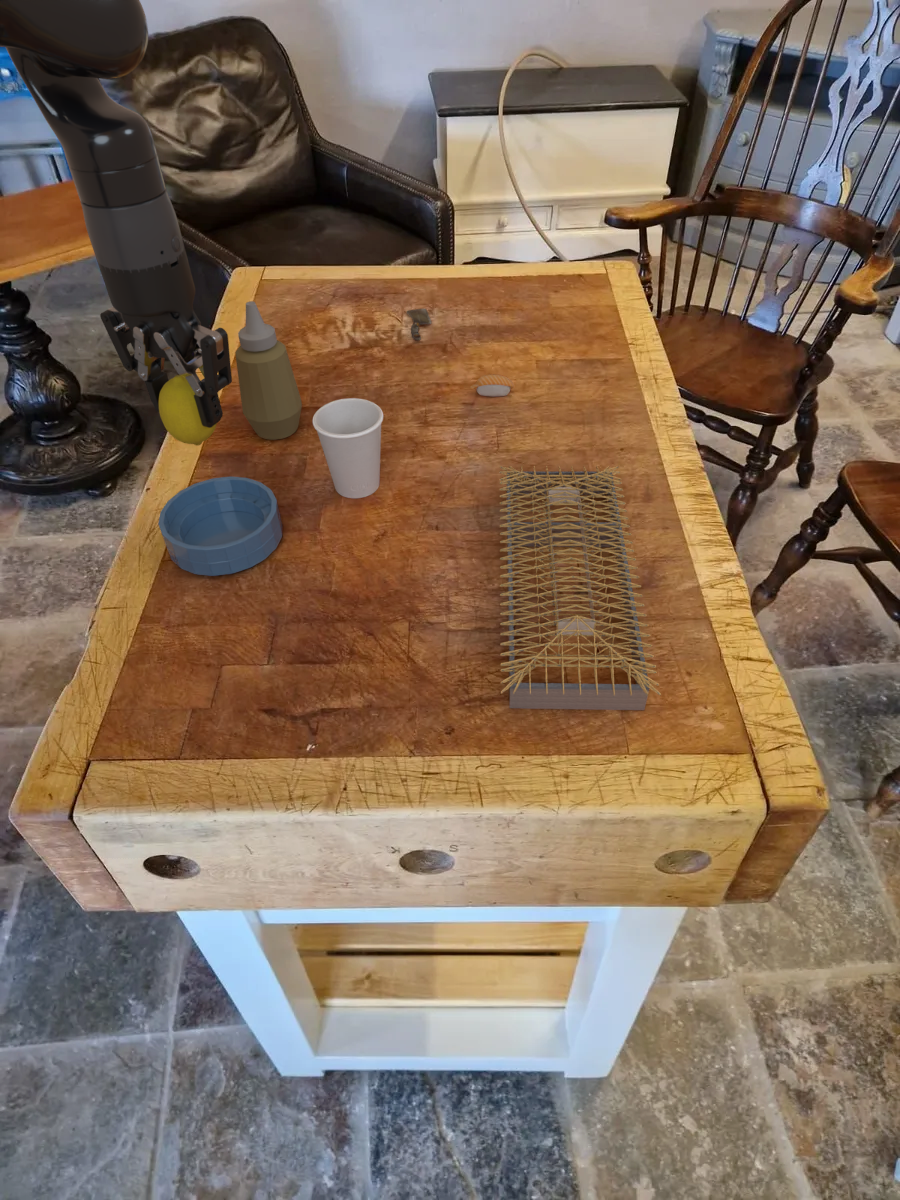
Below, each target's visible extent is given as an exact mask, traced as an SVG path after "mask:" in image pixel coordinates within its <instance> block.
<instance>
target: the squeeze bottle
mask: <svg viewBox="0 0 900 1200" xmlns="http://www.w3.org/2000/svg"><path fill="white" fill-rule="evenodd" d="M237 336H238V342H239V346H238V348H237V349H236V350H235V353H234V354H235V361H236V370H237V378H238V385H239V386H238V387H239V393H240V401H241V409H242V410H241V411H242V414H243V415H244V417H245V419H246V420H247V422H248V423H249V425H250V427H251V428H252V429H253V431H254V432H255V434H256V435H257V436H258V437H259V438H262V439H264V440H270V441H271V440H272V441H276V440H283V439H286V438H287V437H290V436H292V435H294V433H295V432H297V430H298V428H299V424H300V419H301V413H302V407H303V402H302V397H301V394H300V391H299V387H298V384H297V381H296V378H295V374H294V370H293V368H292V364H291V360H290V358H289V354H288V351H287V350H288V349H287V347H286V344H284V343H283V342H282V341H280V340H278V339H277V334H276V328H275V327H274V326H273V325H271V324H268V323H265V321H264V319H263V316H262V315H261V313H260V310H259V308H258V305H257V303H256V302H255V301H252V300H251V301H246V303H245V326H244V327H242V328H240V330H238V333H237Z"/></svg>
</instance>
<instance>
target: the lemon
mask: <svg viewBox="0 0 900 1200" xmlns="http://www.w3.org/2000/svg"><path fill="white" fill-rule="evenodd" d="M168 380H169V381H168V382H166V383H165V384H164V386H163V387H162V389H161V391H160V394H159V412H158V413H159V417H160V419H161V422H162V424H163V426H164V428H165V430H166V432H168V434H169V435H170V436H171V437H173V438H174V439H175V440H176V441H178V442H181V443H183V444H188V445H194V446H200V445H201V444H202V443H204V442H205V441H207V440H208V439H209V438H210V437H212V435H213V433H214V432H215V430H216V428H217V424H218V423H216V424H215V425H214V426H212V427H211V428H208V427H205V426H203V425H202V422H201V419H200V416H199V412H198V409H197V405H196V402H195V398H194V395H195V393H194V391H193V390H192V388H191V386H190V384H189V383H188V381H187V379H186V378H185V377H184V376H180V375H179V374H176V375H174V377H172V378H170V379H168Z"/></svg>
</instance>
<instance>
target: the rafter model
mask: <svg viewBox="0 0 900 1200" xmlns="http://www.w3.org/2000/svg"><path fill="white" fill-rule="evenodd" d="M499 468H500V469H501V470H500V471H499V474H501V475H505V476H504V477H501V478H499V485H506V486H503V487H500V488H499V491H505V492H506V493H503V494H500V495H499V498H506V500H503V501H500V502H499V505H506V507H504V508H501V509H499V512H500V513H501V512H502V513H506V515H504V516H500V517H499V520H506V522H505V523H503V524H499V528H506V531H502V532H499V535H500V536H506V539H502V540H499V543H500V544H506V547H504V548H500V549H499V552H506V556H502V557H500V558H499V561H506V562H507V563H506V564H504V565H501V566H499V569H502V570H506V569H507V573H505V574H500V575H499V578H507V582H503V583H500V584H499V588H500V587H501V588H503V587H505V588H506V587H507V591H506V592H502V593H500V594H499V596H500V597H507V601H504V602H500V604H499V606H507V610H506V611H503V612H500V613H499V614H500V616H507V621H503V622H500V623H499V625H500V626H507V627H508V630H507V631H504V632H500V633H499V636H508V637H507V638H508V641H504V642H500V646H508V651H505V652H501V653H500V656H502V657H503V656H505V657H507V656H508V661H506V662H501V663H500V667H505V668H501V669H500V672H508V676H507V678H505V679H503V680H502V681H500V684H501V685H502V684H505V683H508V684H507V685H506V686H505V687H504V688H503V689H502V690H501V691H500V695H502V694H503V693H504V692H506V691H507V690H508V693H509V694H508V695H509V696H508V697H509V700H508V701H509V709H532V710H535V709H536V710H537V709H538V710H541V709H542V710H597V711H600V710H601V711H602V710H603V711H605V710H607V711H608V710H609V711H617V710H618V711H645V710H646V705H647V701H648V698H649V693H650V690H651V691H652V692H654V693H655V694H657V695H658V696H660V697H661V696H662V693H661V692H660V691H659V690H658V689H657V688H656V687H655V686H658V687H659V686H660V683H659V682H658V681H656V680H654V679H652V678H650V677H649V676H648V674H658V671H657V670H655V669H656V668H657V664H654V663H649V662H646V659H645V658H655V655H654V654H651V653H647V652H644V648H652V647H653V644H651V643H646V642H643V641H642V638H651V634H649V633H646V632H642V631H641V630H640V627H649V624H648V623H644V622H641V621H639V618H638V617H647V614H646V613H643V612H640V611H637V607H644V608H645V607H646V606H645V605H646V604H645V603H641V602H638V601H635V598H643V597H644V594H642V593H638V592H634V590H633V588H640V589H641V588H642V585H641V584H637V583H634V582H632V579H640V576H639V575H636V574H632V573H630V570H638V569H639V567H638V566H634V565H631V564H629V561H631V562H635V561H637V558H636V557H632V556H628V555H627V553H635V549H632V548H629V547H626V545H627V544H628V545H633V544H634V541H631V540H629V539H625V538H624V536H629V537H630V536H632V535H633V534H632V533H631V532H628V531H624V530H623V528H631V525H629V524H626V523H624V522H622V521H623V520H625V521H629V517H627V516H625V515H622V514H621V515H620V513H628V509H625V508H622V507H619V505H626V504H627V502H625V501H623V500H618V498H625V494H621V493H618V492H619V491H622V492H623V491H624V488H623V487H619V486H616V485H622V484H623V481H622V477H621V478H620V477H617V476H615V475H618V474H621V471H620V470H618V469H619V468H620V465H617V466H614V467H610V465H607V467H605V469H603V470H601V471H600V469H599V467H598V465H596V466H595V468H596V471H592V470H591V471H589V470H588V471H587V469H586V467H585V465H583V470H582V471H581V470H580V471H579V470H578V471H574V468H573V465H570V470H571V471H569V470H568V471H567V470H566V471H562V470H561V467H560V465H558V471H555V470H554V471H549V469H548V465H546V466H545V470H546V471H544V470H543V471H539V470H538V471H536V467H535V466H533V471H530V470H529V471H528V470H527V471H523V465H520V470H518V469H516V468H515V467H513V466H512V465H508V467H506V466H502V465H499ZM616 491H617V492H616ZM522 498H531V500H530V501H529V500H525V499H524V500H523V499H522ZM534 498H536V499H534ZM591 498H592V499H591ZM595 498H604V499H603V500H595ZM545 499H546V500H545ZM515 501H518V502H515ZM538 501H541V502H538ZM584 501H590V502H584ZM511 505H512V506H511ZM524 505H532V508H527V507H522V506H524ZM534 505H537V506H534ZM591 505H593V506H591ZM596 505H603V506H605V507H601V508H597V507H596ZM551 506H563V507H561V508H557V509H551ZM568 506H569V507H568ZM570 506H577V509H576V508H572V507H570ZM516 508H517V509H516ZM541 508H542V509H541ZM586 508H589V509H586ZM591 509H592V510H591ZM523 513H532V515H531V516H529V515H524V514H523ZM535 513H538V514H535ZM592 513H594V514H592ZM597 513H606V514H605V515H600V516H599V515H597ZM551 514H564V515H561V516H557V517H552V516H551ZM569 514H570V515H569ZM571 514H578V517H577V516H574V515H571ZM546 515H547V516H546ZM516 516H519V517H516ZM540 516H543V517H540ZM586 516H590V517H586ZM512 520H513V521H512ZM526 520H532V521H526ZM535 520H537V521H535ZM594 520H595V522H594ZM598 520H600V522H599V521H598ZM601 520H602V521H601ZM621 520H622V521H621ZM605 521H606V522H605ZM555 547H556V548H558V547H559V548H566V549H554V548H555ZM516 548H519V549H516ZM575 548H582V549H575ZM591 548H592V549H591ZM513 552H516V553H513ZM530 552H532V553H533V552H534V557H533V556H528V555H523V554H526V553H530ZM545 552H546V553H547V552H550V553H547V554H545ZM537 553H539V554H541V555H539V556H537ZM598 553H600V555H596V554H598ZM602 553H609V554H613V555H610V556H606V557H605V556H604V557H603V556H602ZM556 555H575V556H576V555H579V556H580V555H581V556H582V555H583V558H576V557H572V556H570V557H566V558H565V557H564V558H563V557H562V558H560V557H559V558H558V557H557V558H555V556H556ZM591 557H594V558H591ZM513 561H516V562H513ZM529 561H535V565H530V564H524V563H525V562H529ZM538 561H539V562H540V563H542V564H539V565H537V564H538ZM544 561H551V562H544ZM590 561H594V562H590ZM600 561H601V563H600V564H597V563H598V562H600ZM604 561H607V562H612V563H614V564H610V565H605V566H604ZM556 564H584V566H574V565H573V566H572V565H571V566H566V567H565V566H555V565H556ZM517 565H519V566H517ZM516 569H517V570H516ZM513 570H515V571H513ZM530 570H535V574H530V573H525V572H526V571H530ZM538 570H540V571H541V572H543V573H540V574H538ZM545 570H551V571H545ZM591 570H596V571H591ZM601 570H602V573H598V572H599V571H601ZM605 570H609V571H613V572H617V573H612V574H607V575H605ZM557 573H577V574H579V573H581V574H582V573H583V574H584V573H585V575H556V574H557ZM517 574H520V575H517ZM515 578H516V580H513V579H515ZM517 578H520V579H517ZM535 578H536V583H531V582H525V581H527V580H530V579H535ZM539 579H540V580H541V581H543V582H542V583H538V582H539ZM546 579H552V580H550V581H547V580H546ZM591 579H597V580H595V581H594V580H591ZM606 579H609V580H613V581H617V582H613V583H608V584H606ZM601 580H603V583H602V582H599V581H601ZM517 583H519V584H517ZM520 583H521V584H520ZM557 583H586V585H585V584H582V585H581V584H557ZM515 587H516V588H518V587H519V588H518V589H514V588H515ZM532 588H536V593H535V592H531V591H530V592H529V591H524V590H528V589H532ZM546 588H553V589H552V590H548V589H546ZM572 588H577V589H572ZM592 588H598V589H597V590H593V589H592ZM608 588H610V589H614V590H617V591H618V592H612V593H611V592H610V593H607V591H608ZM539 589H542V590H543V591H544V592H541V593H539ZM603 589H605V590H604V592H601V590H603ZM559 592H587V594H566V593H565V594H564V593H563V594H562V593H561V594H559ZM514 597H520V598H516V599H514ZM534 597H537V601H536V602H532V601H526V599H527V600H528V599H531V598H534ZM546 597H553V599H552V600H549V599H547V598H546ZM558 597H560V598H558ZM593 597H596V598H598V597H599V598H598V599H597V600H596V599H593ZM609 597H610V598H614V599H617V600H621V601H617V602H611V603H609ZM540 598H541V599H544V600H545V601H544V602H540ZM571 598H578V599H571ZM604 599H606V602H603V601H602V600H604ZM517 602H518V603H517ZM519 602H521V603H519ZM558 602H588V603H558ZM596 603H597V604H596ZM514 606H523V607H519V608H515V609H514ZM534 607H537V612H534V611H529V610H526V609H530V608H534ZM540 607H541V608H542V609H544V610H545V612H541V613H540ZM547 607H554V609H553V610H550V609H548V608H547ZM559 607H561V608H559ZM594 607H602V608H600V609H597V610H596V609H594ZM572 608H580V609H572ZM606 608H608V609H607V612H604V611H603V610H604V609H606ZM610 608H615V609H619V610H622V611H617V612H611V613H610ZM519 612H520V613H519ZM521 612H523V613H521ZM559 612H589V613H559ZM514 616H524V617H520V618H515V619H514ZM545 616H548V617H550V616H552V617H553V616H555V618H554V619H555V620H551V619H549V618H547V617H545ZM559 616H560V617H561V616H562V617H563V618H559ZM565 616H566V617H565ZM535 617H538V619H537V620H538V621H537V622H534V621H529V620H526V619H531V618H535ZM589 617H590V618H589ZM595 617H603V618H602V619H600V620H597V619H596V618H595ZM612 617H613V618H616V619H621V620H624V621H619V622H618V621H617V622H614V623H613V622H612V623H611V621H612ZM541 618H543V619H545V620H546V621H547V622H543V623H540V619H541ZM608 618H609V620H608V622H604V620H606V619H608ZM518 622H519V623H518ZM521 622H522V623H521ZM523 622H524V623H523ZM515 626H525V627H521V628H516V629H515V628H514V627H515ZM546 626H550V627H551V626H553V627H554V626H555V627H556V629H555V630H551V629H549V628H547V627H546ZM536 627H538V632H534V631H528V629H532V628H536ZM596 627H605V628H603V629H601V630H598V629H596ZM541 628H543V629H545V630H546V631H547V632H542V633H541ZM614 628H617V629H620V630H624V631H622V632H615V633H613V629H614ZM608 629H610V632H609V633H608V632H605V631H606V630H608ZM519 632H521V633H519ZM515 636H517V637H519V636H524V637H522V638H518V639H515ZM536 637H539V643H538V642H533V641H527V640H529V639H532V638H533V639H534V638H536ZM548 637H554V638H553V639H552V640H551V639H550V638H548ZM560 637H561V638H560ZM563 637H565V639H563ZM572 637H577V643H564V642H566V641H567V640H569V639H570V638H572ZM579 637H583V639H585V640H586V641H587V642H588V643H580V638H579ZM587 637H593V642H592V641H591V640H590V639H588V638H587ZM603 637H607V638H604V639H603ZM627 637H628V638H627ZM542 638H544V639H545V640H547V641H549V642H545V643H542ZM596 638H598V639H599V640H601V641H599V642H598V641H597V642H596ZM611 638H612V639H611ZM615 638H618V639H622V640H625V642H619V643H614V641H615ZM556 639H557V642H555V641H556ZM560 639H561V641H560ZM609 639H610V640H611V643H609V642H607V640H609ZM519 642H521V643H519ZM515 646H516V647H517V646H518V647H519V646H527V647H523V648H519V649H515ZM540 647H544V648H543V649H542V650H541V651H540V652H537V651H531V650H530V649H534V648H540ZM551 647H558V651H557V652H556V651H555V650H554V649H553V648H551ZM564 647H570V648H568V649H567V650H566V649H565V650H564ZM585 647H594V653H593V652H592V651H590V650H588V649H587V648H585ZM598 647H604V648H603V649H602V650H600V651H599V652H597V651H598ZM614 647H615V648H618V649H622V650H626V651H624V652H617V651H616V650H615V649H614ZM547 648H548V649H549V650H550V651H551V652H553V653H554V654H553V653H552V654H549V653H548V654H547ZM575 648H577V653H578V654H565V653H567V652H569V651H571V650H574V649H575ZM580 648H581V649H582V650H584V651H585V652H587V653H588V654H580ZM608 649H609V650H608ZM560 650H561V651H560ZM606 650H608V654H601V653H603V652H604V651H606ZM520 652H525V653H520ZM625 654H626V655H625ZM628 654H629V655H628ZM515 657H523V658H518V659H515ZM529 660H531V661H530V662H529ZM541 660H544V662H542V661H541ZM555 660H558V662H557V661H555ZM564 660H567V661H565V662H564ZM588 660H589V661H588ZM591 660H592V661H594V662H591ZM599 661H601V662H600V663H599ZM614 661H616V662H614ZM628 661H629V662H628ZM536 662H537V663H536ZM548 662H551V663H548ZM574 662H577V664H575V663H574ZM581 662H584V663H586V664H581ZM608 662H610V664H606V663H608ZM571 663H574V664H571ZM620 663H621V664H620ZM537 667H539V668H540V667H541V668H543V667H544V673H545V682H531V681H532V680H531V679H532V678H531V672H532V671H533V670H534V669H535V668H537ZM548 667H551V668H560V669H561V670H560V671H561V682H559V683H558V682H557V683H555V682H548ZM564 668H577V676H578V683H568V682H567V683H566V682H565V678H564V677H565V676H564V675H565V674H564ZM581 668H593V673H594V682H595V683H581V680H582V679H581ZM597 668H609V671H610V676H611V677H610V678H611V683H598V672H597V671H598V669H597ZM614 668H618V669H621V670H623V671H624V672H625V673H626V674H627V682H628V683H615V675H614V674H615V673H614ZM527 675H528V682H522V681H523V679H524V678H525V676H527ZM631 677H632V678H633V679H634V681H635V684H634V683H632V679H631ZM654 685H655V686H654Z"/></svg>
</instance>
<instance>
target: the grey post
mask: <svg viewBox="0 0 900 1200" xmlns="http://www.w3.org/2000/svg"><path fill="white" fill-rule="evenodd" d="M406 314H407V315H408V316H409V317H410V318H411V319H412V325H411V327H410V334H411V336H410V337H411V338H412V339H413V340H414V341H416V342H419V341H421V339H422V337H421V334H420V332H419V330H420V326H425V325H431V324H432V323H433V322H432V320H431V317H430V315H429V312H428V310H427V308H415V309H409V310H406Z"/></svg>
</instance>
